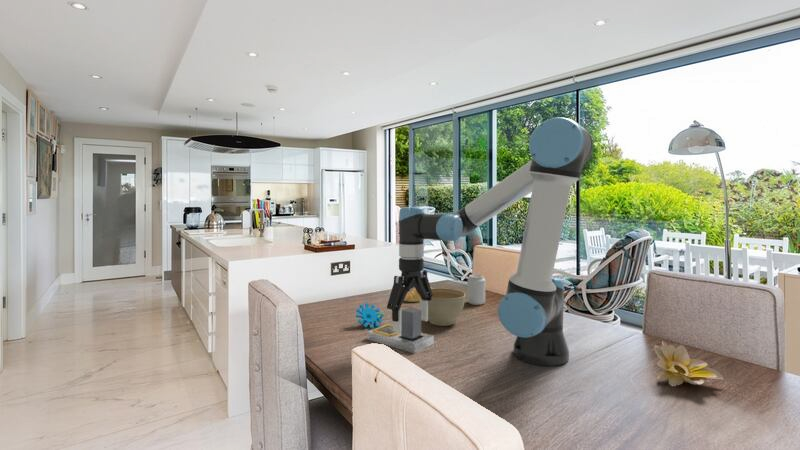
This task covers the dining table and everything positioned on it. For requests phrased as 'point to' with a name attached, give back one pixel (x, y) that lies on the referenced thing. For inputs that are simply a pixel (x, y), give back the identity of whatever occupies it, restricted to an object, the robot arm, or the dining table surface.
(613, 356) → the dining table surface
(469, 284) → the can
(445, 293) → the planter bowl
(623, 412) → the dining table surface
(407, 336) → the peg
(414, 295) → the croissant
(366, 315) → the gear
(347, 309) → the dining table surface
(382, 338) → the grey slotted holder
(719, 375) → the decorative flower
